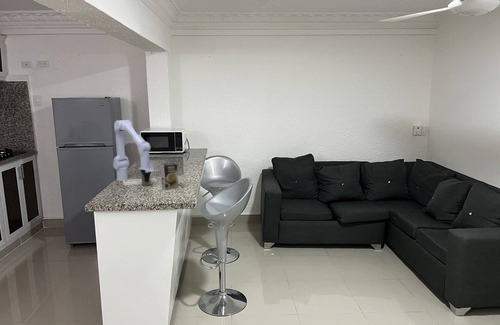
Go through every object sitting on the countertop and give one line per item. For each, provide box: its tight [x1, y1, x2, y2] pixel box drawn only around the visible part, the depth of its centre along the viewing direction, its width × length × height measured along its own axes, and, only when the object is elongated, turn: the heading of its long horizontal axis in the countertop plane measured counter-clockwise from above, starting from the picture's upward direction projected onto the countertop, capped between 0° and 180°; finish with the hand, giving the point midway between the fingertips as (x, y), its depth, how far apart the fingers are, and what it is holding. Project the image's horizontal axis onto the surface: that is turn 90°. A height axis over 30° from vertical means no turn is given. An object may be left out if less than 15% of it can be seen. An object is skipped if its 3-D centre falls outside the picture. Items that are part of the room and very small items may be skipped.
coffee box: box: [160, 162, 179, 191], centre depth 248 cm, size 9×6×16 cm
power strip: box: [122, 177, 158, 186], centre depth 260 cm, size 9×22×3 cm, turn 112°
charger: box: [140, 173, 152, 186], centre depth 252 cm, size 5×5×7 cm
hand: (146, 180), depth 252 cm, fingers closed on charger, 6 cm apart
